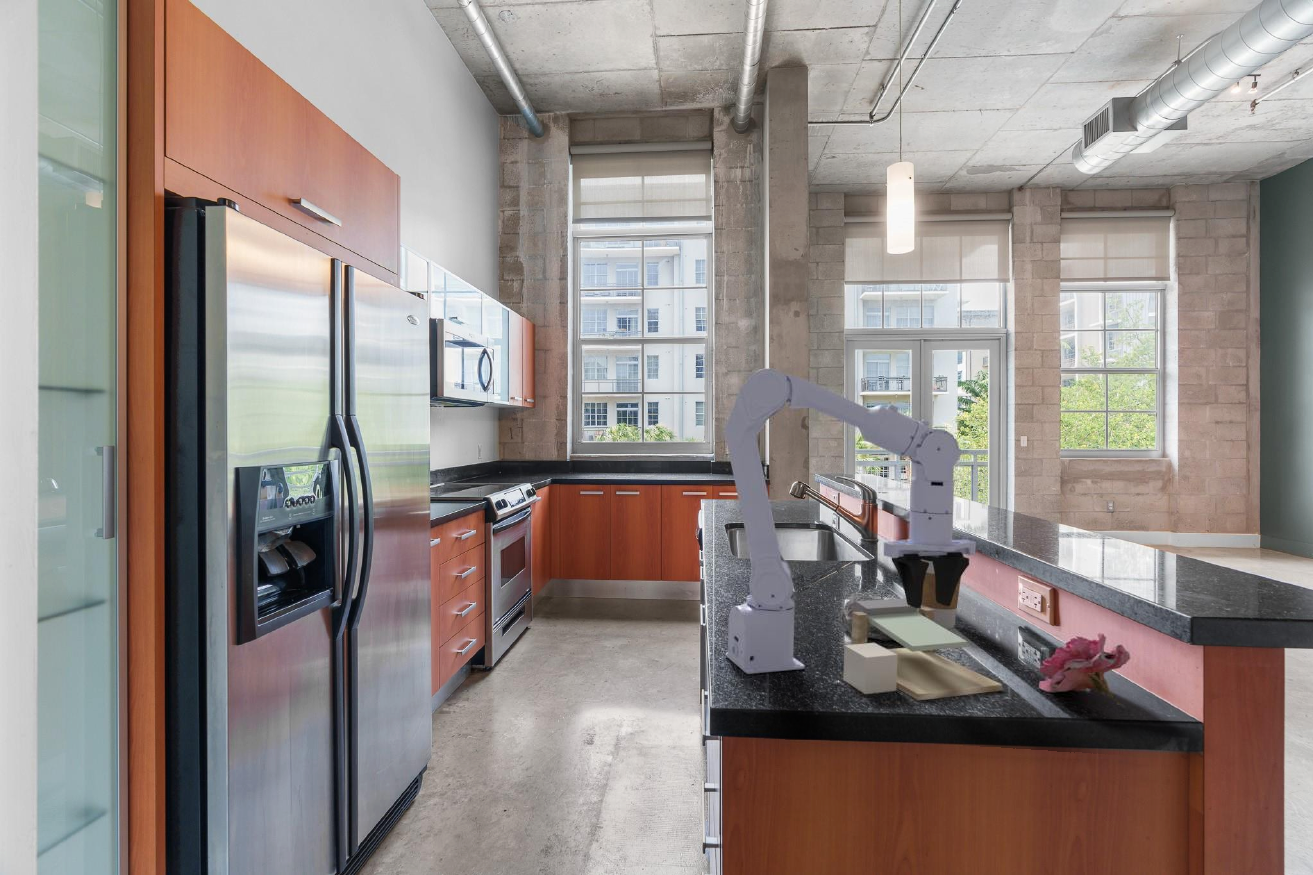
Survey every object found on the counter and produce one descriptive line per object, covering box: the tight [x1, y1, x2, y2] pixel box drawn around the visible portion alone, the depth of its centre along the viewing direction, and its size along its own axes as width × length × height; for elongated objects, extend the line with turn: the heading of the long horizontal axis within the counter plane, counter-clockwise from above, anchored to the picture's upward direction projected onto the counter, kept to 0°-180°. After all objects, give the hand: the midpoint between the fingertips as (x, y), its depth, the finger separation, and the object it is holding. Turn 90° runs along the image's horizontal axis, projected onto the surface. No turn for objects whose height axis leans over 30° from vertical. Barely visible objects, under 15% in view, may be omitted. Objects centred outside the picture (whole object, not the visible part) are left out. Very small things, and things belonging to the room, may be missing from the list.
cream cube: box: [842, 642, 897, 695], centre depth 86 cm, size 5×5×5 cm
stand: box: [850, 607, 1003, 701], centre depth 91 cm, size 14×16×8 cm
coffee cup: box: [919, 554, 965, 630], centre depth 117 cm, size 8×8×15 cm
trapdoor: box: [855, 597, 968, 652], centre depth 94 cm, size 9×14×3 cm
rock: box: [840, 594, 919, 642], centre depth 110 cm, size 13×6×15 cm
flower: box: [1038, 632, 1131, 707], centre depth 85 cm, size 11×10×10 cm
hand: (928, 605), depth 90 cm, fingers open, 5 cm apart
